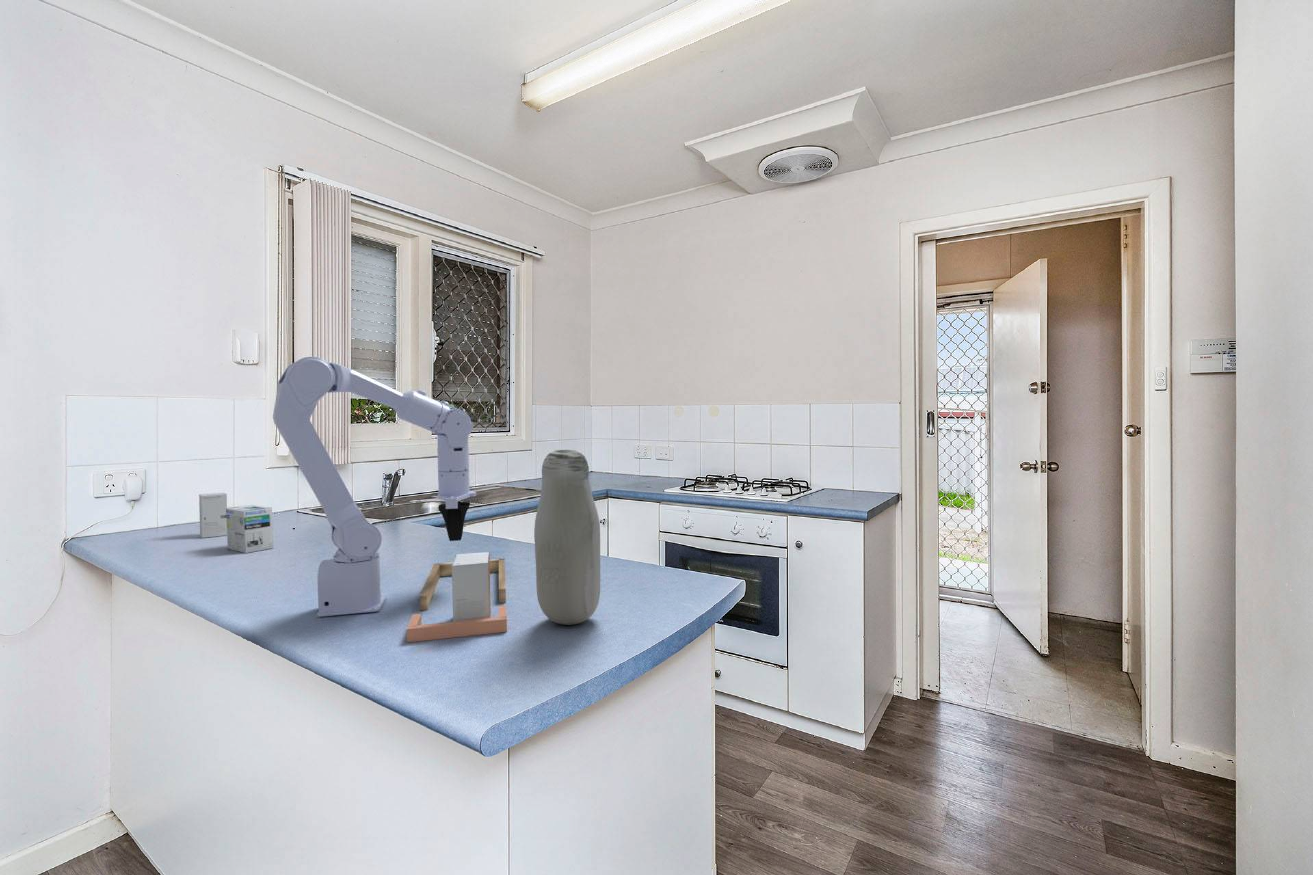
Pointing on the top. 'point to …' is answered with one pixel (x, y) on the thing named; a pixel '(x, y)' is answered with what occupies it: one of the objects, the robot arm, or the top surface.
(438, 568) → the u-shaped frame
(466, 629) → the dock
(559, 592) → the grey bottle
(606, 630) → the top surface
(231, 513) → the light bulb box
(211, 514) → the skincare box
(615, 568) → the top surface
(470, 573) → the small box
